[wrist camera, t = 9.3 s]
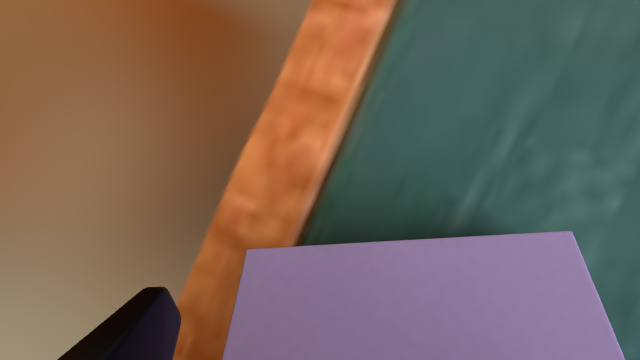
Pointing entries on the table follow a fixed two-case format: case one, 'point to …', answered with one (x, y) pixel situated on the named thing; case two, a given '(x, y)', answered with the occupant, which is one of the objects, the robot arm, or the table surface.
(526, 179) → the table surface
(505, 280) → the purple square slab
